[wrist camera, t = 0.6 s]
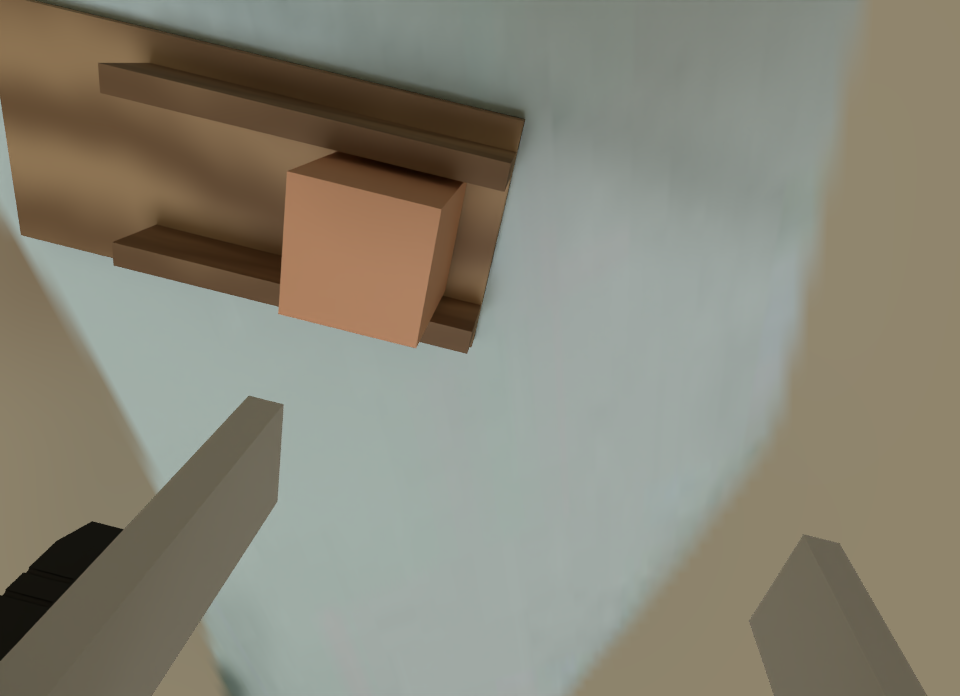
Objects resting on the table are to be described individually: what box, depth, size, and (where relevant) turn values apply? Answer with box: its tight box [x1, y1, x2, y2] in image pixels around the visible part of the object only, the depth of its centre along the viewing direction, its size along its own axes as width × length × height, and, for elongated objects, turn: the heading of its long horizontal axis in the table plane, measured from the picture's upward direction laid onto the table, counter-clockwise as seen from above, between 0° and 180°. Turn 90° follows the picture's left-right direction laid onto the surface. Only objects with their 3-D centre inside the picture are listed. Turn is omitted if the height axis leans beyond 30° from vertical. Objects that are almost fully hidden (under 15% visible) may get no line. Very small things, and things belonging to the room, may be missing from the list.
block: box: [278, 151, 467, 348], centre depth 26 cm, size 6×6×7 cm
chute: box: [0, 0, 525, 354], centre depth 29 cm, size 12×26×4 cm, turn 78°
